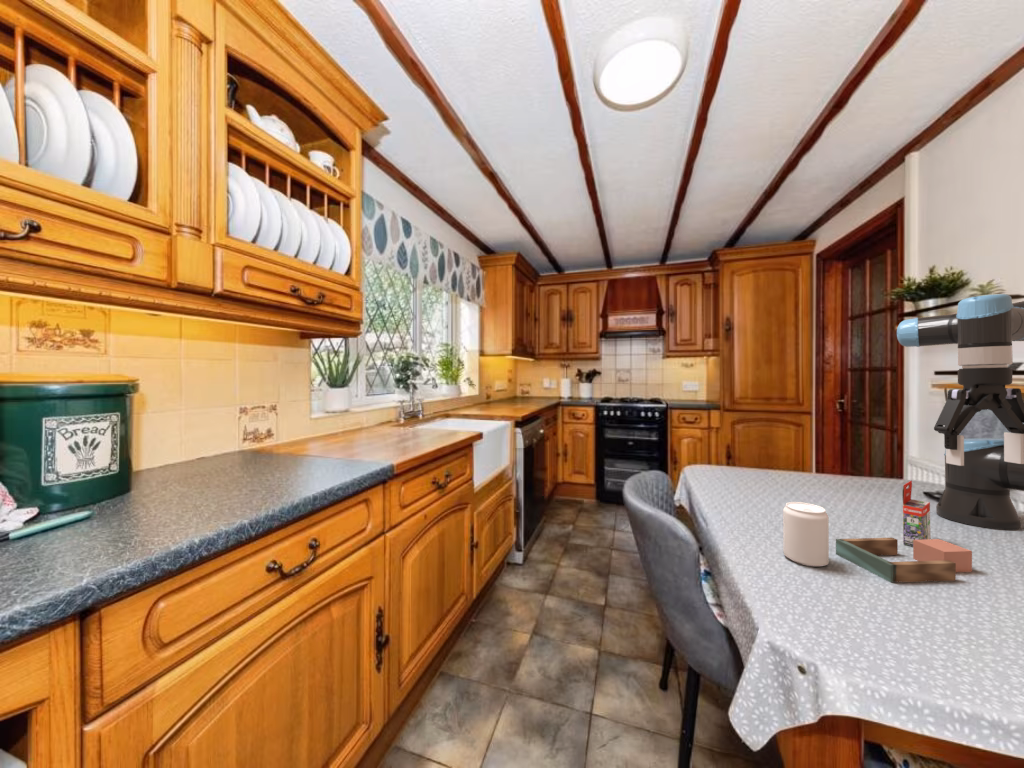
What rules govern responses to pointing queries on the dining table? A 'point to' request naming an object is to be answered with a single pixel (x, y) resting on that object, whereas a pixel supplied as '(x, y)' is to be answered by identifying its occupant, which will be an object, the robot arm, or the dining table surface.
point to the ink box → (914, 517)
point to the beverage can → (806, 534)
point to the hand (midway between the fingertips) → (984, 463)
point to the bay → (910, 571)
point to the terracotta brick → (942, 553)
